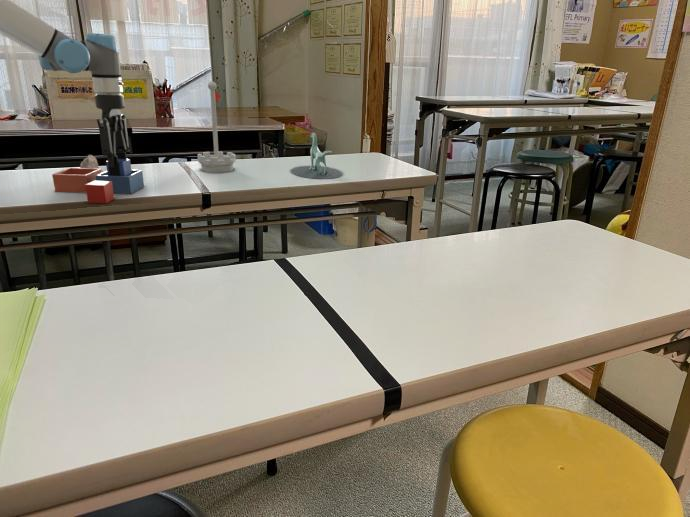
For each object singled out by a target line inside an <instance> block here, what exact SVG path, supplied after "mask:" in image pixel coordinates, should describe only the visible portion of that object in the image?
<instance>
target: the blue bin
mask: <svg viewBox="0 0 690 517" xmlns="http://www.w3.org/2000/svg"><path fill="white" fill-rule="evenodd" d="M131 171H132V175H130V176H108V174H107V170H105V171H104V172H103V173H101V174H98V175H96V181H112V186H113V193H114V195H115V194H117V195H132V194H134V193H136V192H138V191H139V190H141V189H142V188H144V187H145V183H144V174H143V169H131Z"/></svg>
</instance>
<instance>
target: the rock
mask: <svg viewBox="0 0 690 517" xmlns="http://www.w3.org/2000/svg"><path fill="white" fill-rule="evenodd" d="M79 168H92V169H100V166H99V163H98V160H97V157H96V156H93V155H92V154H87V157H85V158H84V159H83V161H81V162H80V166H79ZM103 172H105V171H104V170H102V173H103Z"/></svg>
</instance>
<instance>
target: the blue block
mask: <svg viewBox="0 0 690 517" xmlns="http://www.w3.org/2000/svg"><path fill="white" fill-rule="evenodd" d="M118 163H119V171H120V176H130V175H132V171H131V170H132V165H131V159H130V158H127V159H118ZM105 166H106V171H107V174H108V176H110V174H109V167H108V160H106V161H105Z"/></svg>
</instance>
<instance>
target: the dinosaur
mask: <svg viewBox="0 0 690 517" xmlns="http://www.w3.org/2000/svg"><path fill="white" fill-rule="evenodd" d="M310 138H312V145H311V147H310V150H309V151H310V161H311V162H310V163H311V164H310V165H303V166H295V167H294V168H291V170H290V171H291V173H292V174H293V175H295V176H298V177H302V178H307V179H317V180H329V179H336V178H339V177H341V176H342V175H343V172H342V171H340V170H339V169H337V168H333V167H328V166H327V160H326V156H327V155H328V154H330V153H331V154H332V153H334V152H333V151H332V150H324V151H323V152H322V151H320V149H319V147H318V146H319V145H318V136H317V134H316V133H315V132H311V133H310ZM314 160H315V162H314ZM321 163H322V164H323V165H324V166H322V165H321Z"/></svg>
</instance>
